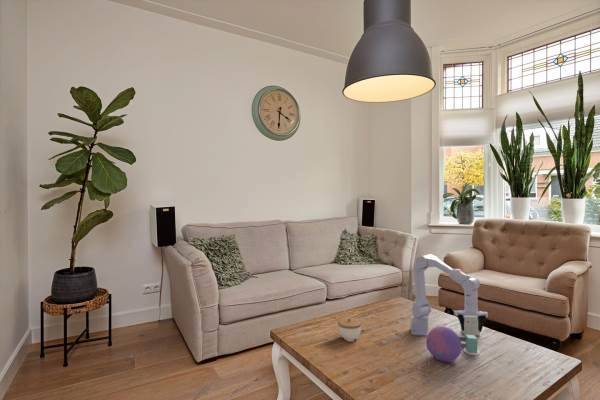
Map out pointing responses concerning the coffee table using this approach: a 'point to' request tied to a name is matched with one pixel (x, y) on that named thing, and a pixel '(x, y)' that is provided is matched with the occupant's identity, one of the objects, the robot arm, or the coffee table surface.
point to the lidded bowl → (349, 328)
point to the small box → (471, 325)
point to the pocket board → (462, 338)
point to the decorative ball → (443, 344)
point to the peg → (471, 343)
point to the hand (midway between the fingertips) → (471, 330)
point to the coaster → (471, 353)
